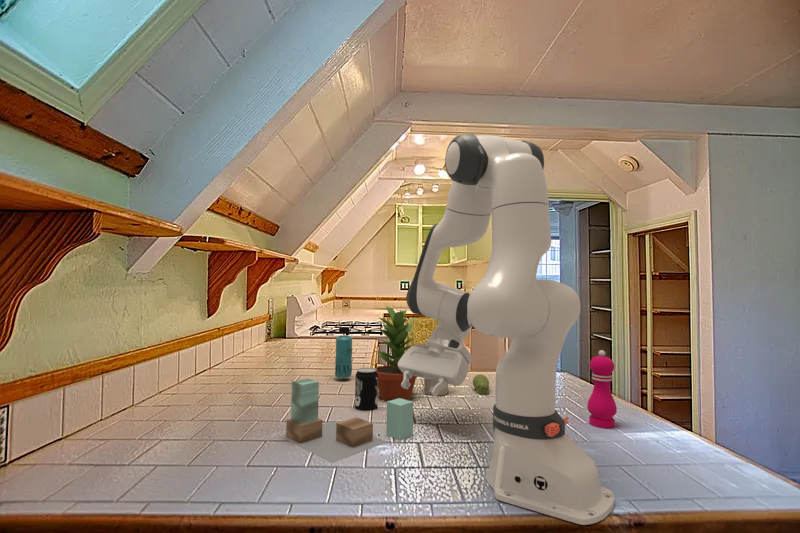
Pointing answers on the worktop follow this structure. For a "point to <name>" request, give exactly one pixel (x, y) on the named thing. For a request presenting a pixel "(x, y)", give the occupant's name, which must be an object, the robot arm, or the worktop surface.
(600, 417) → the pepper mill
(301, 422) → the tower
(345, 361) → the beverage bottle
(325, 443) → the board
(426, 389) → the travel mug
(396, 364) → the potted plant
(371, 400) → the beverage can
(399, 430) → the pillar
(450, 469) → the worktop surface
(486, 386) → the pear
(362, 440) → the base block
